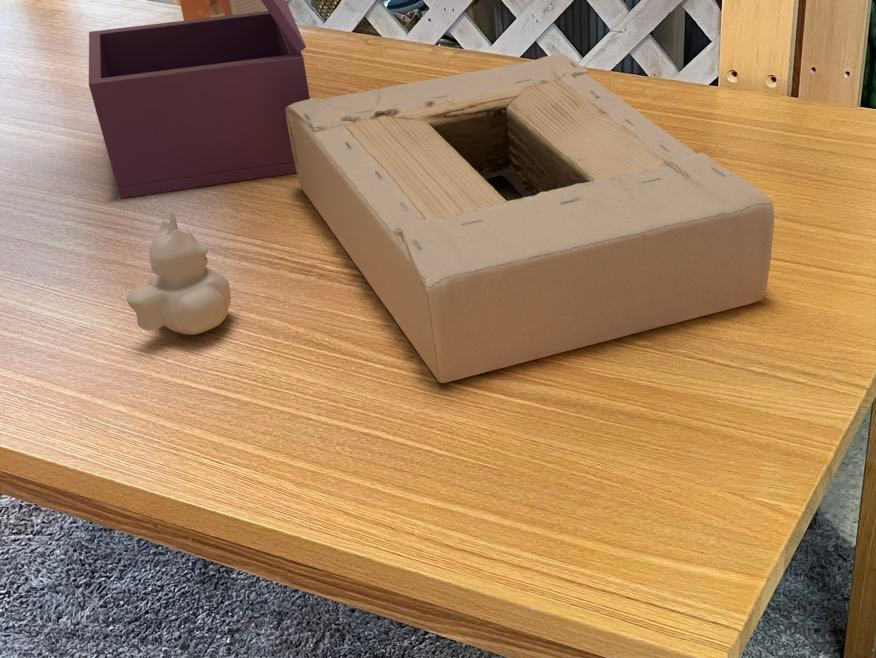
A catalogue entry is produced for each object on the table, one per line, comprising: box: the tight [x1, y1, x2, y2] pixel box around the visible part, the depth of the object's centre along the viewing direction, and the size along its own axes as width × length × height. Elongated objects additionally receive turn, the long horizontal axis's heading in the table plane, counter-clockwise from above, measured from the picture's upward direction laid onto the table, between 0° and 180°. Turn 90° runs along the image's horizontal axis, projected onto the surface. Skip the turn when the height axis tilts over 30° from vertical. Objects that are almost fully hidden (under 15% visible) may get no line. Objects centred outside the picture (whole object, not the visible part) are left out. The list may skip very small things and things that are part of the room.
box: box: [285, 53, 775, 384], centre depth 82 cm, size 23×8×32 cm
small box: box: [179, 0, 268, 21], centre depth 111 cm, size 8×6×10 cm
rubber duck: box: [126, 209, 232, 336], centre depth 73 cm, size 5×7×8 cm
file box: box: [88, 11, 311, 199], centre depth 95 cm, size 16×13×9 cm
